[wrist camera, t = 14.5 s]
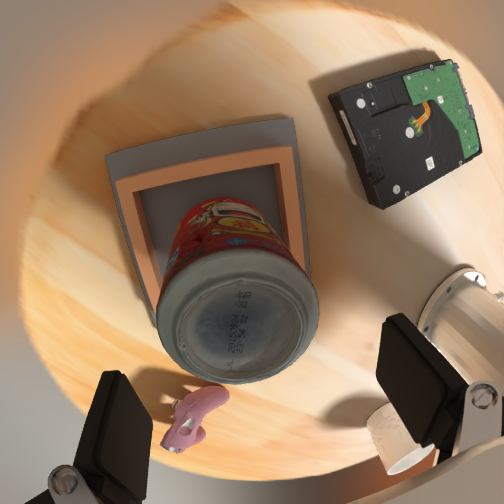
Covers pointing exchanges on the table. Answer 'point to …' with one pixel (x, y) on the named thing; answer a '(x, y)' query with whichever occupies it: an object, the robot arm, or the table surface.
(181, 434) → the video game controller
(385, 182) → the disk drive
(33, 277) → the table surface
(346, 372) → the table surface
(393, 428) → the white cup
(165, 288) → the soda can
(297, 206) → the cradle jig
